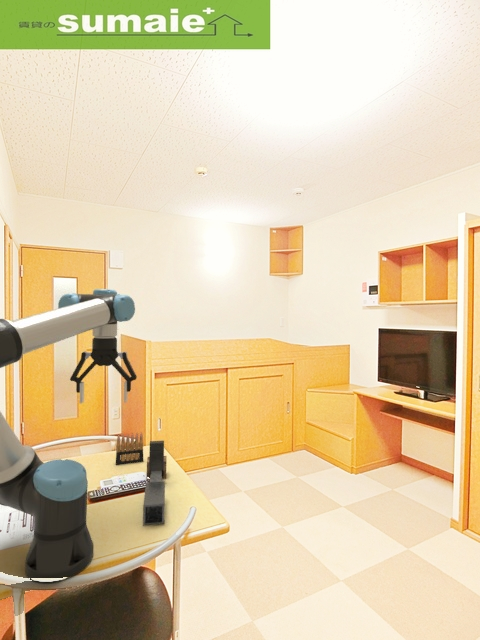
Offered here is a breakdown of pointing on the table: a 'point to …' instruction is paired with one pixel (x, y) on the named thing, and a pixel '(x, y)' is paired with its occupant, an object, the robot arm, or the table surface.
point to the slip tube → (156, 460)
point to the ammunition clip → (129, 450)
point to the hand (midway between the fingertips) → (103, 402)
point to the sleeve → (154, 503)
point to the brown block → (162, 471)
